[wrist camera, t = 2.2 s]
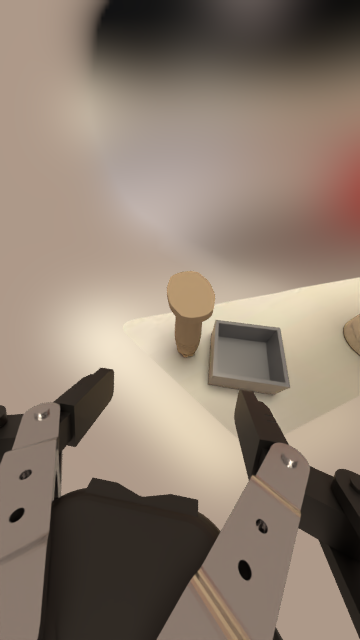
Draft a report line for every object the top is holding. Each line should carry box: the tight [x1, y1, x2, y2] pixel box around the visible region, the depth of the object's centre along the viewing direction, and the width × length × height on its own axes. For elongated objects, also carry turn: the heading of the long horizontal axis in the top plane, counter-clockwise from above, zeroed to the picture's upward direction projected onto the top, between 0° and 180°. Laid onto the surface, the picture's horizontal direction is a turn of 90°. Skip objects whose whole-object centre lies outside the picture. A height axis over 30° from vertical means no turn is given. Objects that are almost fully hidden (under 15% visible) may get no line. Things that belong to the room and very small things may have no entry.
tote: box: [208, 320, 290, 395], centre depth 28 cm, size 10×9×5 cm
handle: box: [167, 271, 215, 357], centre depth 25 cm, size 5×6×15 cm
